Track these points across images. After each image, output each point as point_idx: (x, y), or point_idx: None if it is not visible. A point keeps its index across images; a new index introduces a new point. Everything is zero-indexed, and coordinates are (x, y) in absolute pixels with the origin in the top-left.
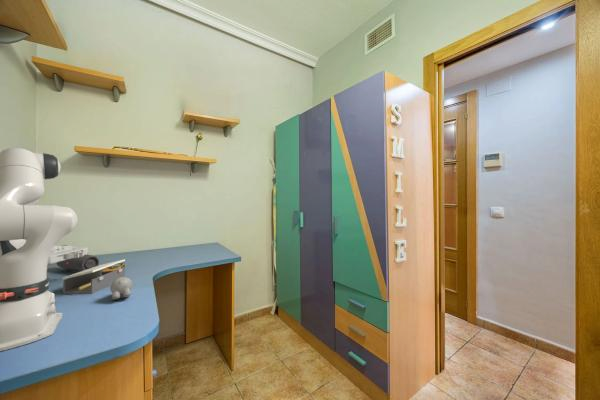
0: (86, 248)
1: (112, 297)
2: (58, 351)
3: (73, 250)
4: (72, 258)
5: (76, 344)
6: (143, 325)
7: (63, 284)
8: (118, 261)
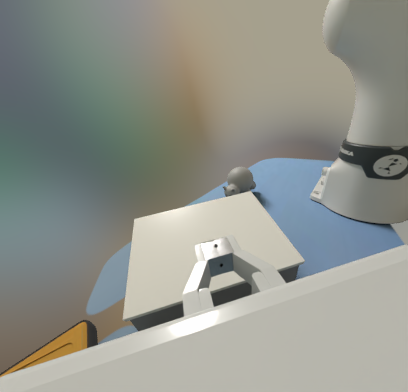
0: (22, 370)
1: (255, 184)
2: (317, 165)
3: (196, 323)
4: None
5: (306, 165)
6: (264, 162)
7: (296, 271)
8: (163, 212)
